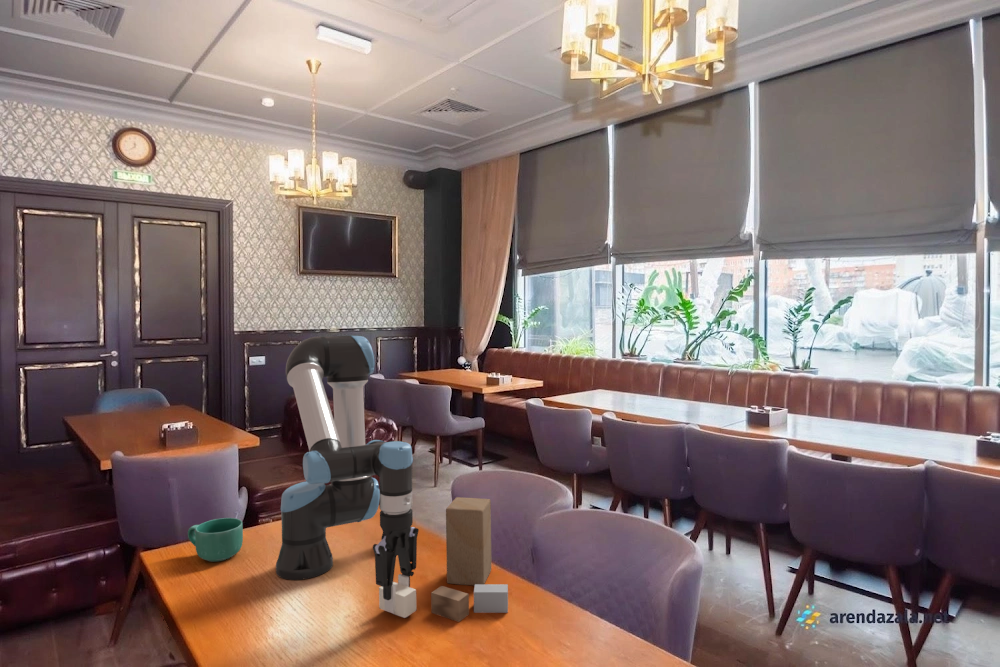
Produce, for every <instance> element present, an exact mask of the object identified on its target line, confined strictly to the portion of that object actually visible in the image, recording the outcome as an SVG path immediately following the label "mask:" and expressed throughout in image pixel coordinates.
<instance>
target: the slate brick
mask: <svg viewBox="0 0 1000 667" xmlns="http://www.w3.org/2000/svg"><path fill="white" fill-rule="evenodd" d="M508 587H509V585H508V583H507V584H506V583H505V584H500V583H499V584H488V583H487V584H475V586H474V588H473V613H476V614H478V613H479V614H480V613H482V614H485V613H489V614H491V613H493V614H494V613H495V614H498V613H504V614H505V613H506V614H507V613H509V588H508Z"/></svg>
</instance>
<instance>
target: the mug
mask: <svg viewBox="0 0 1000 667" xmlns="http://www.w3.org/2000/svg"><path fill="white" fill-rule="evenodd" d="M243 531H244V528H243V520H241V519H239V518H235V517H223V518H214V519H210V520H208V521H205V522H202V523H200V524H194V525H192V526H190V527H189V528H188V531H187V537H188V540H189V542H190V543H191V544H192V545H193V546H194V547H195V552H196V554H197V556H198V557H199V558H200V559H202V560H205V561H207V562H211V563H213V562H214V563H215V562H222V561H226V559H227V560H229V559H231V558H232V557H234V556H235V555H237V553H239V552H240V551H241V548H242V546H243V544H244V542H243V540H244V538H243V537H244V534H243V533H244V532H243ZM230 557H231V558H230Z"/></svg>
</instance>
